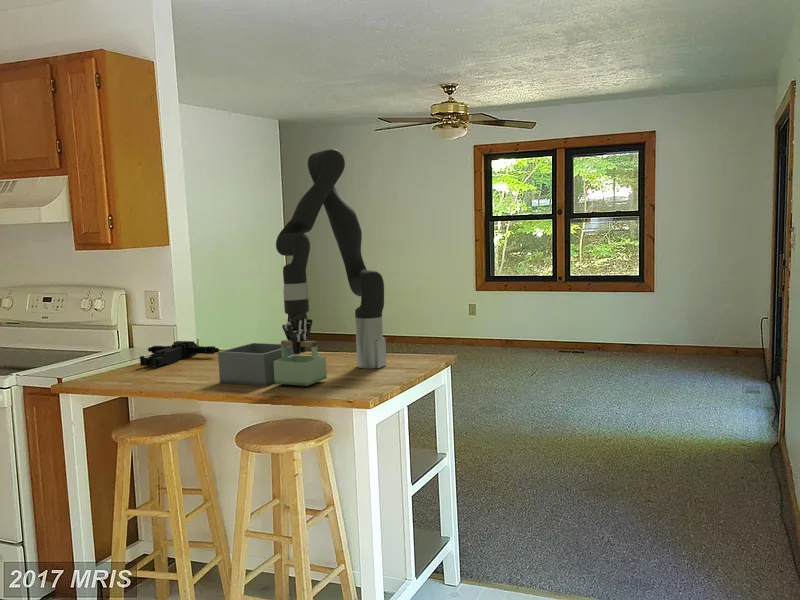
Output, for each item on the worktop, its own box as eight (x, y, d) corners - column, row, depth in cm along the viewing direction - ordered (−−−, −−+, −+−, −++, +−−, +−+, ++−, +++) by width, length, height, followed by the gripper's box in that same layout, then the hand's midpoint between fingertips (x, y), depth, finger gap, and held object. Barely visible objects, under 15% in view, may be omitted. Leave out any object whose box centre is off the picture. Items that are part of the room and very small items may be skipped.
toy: (109, 354, 262) (157, 338, 290) (111, 371, 263) (159, 353, 291) (184, 355, 253) (226, 338, 282) (185, 373, 254) (227, 354, 283)
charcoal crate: (298, 374, 238) (296, 344, 237) (265, 386, 222) (263, 354, 221) (254, 371, 246) (253, 342, 245) (219, 382, 230) (217, 351, 229)
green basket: (326, 378, 226) (324, 338, 224) (307, 385, 216) (305, 344, 215) (295, 376, 231) (292, 337, 230) (274, 383, 221) (272, 343, 220)
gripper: (293, 300, 213) (296, 357, 215) (318, 295, 225) (321, 349, 227) (272, 300, 216) (276, 356, 218) (298, 295, 228) (301, 348, 230)
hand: (299, 352), depth 223 cm, fingers closed on green basket
